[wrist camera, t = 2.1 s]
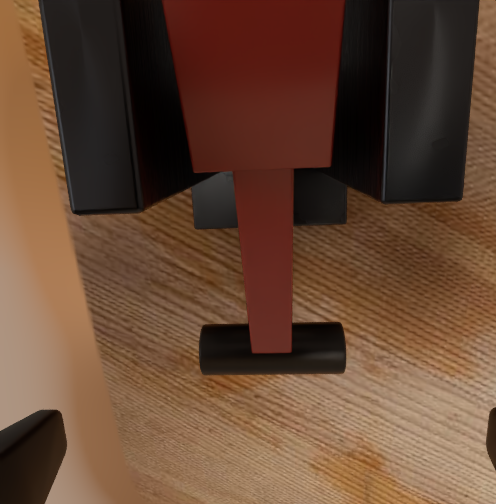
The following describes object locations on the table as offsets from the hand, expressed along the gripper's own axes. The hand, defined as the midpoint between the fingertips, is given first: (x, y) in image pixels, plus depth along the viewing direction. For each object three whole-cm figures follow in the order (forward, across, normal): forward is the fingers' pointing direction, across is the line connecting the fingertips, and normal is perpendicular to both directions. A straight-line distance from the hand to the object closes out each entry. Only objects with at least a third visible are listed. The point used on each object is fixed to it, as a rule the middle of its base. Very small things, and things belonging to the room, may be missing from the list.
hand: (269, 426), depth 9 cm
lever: (+2, 0, -4) cm, 5 cm away
